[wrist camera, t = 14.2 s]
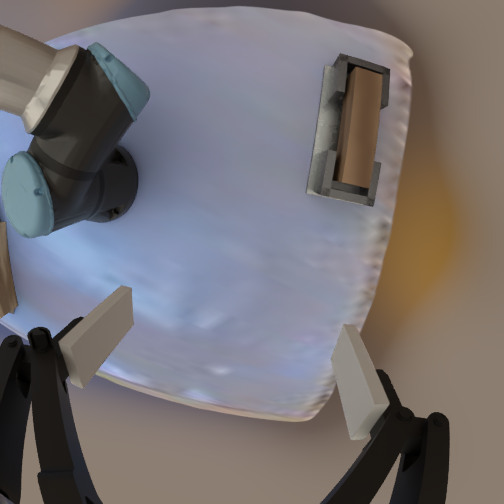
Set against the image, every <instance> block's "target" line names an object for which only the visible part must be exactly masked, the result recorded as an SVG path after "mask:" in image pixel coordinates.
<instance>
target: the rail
mask: <svg viewBox="0 0 504 504" xmlns="http://www.w3.org/2000/svg"><path fill="white" fill-rule="evenodd" d="M381 93H382V75H381V74H378V73H375V72H372V71H369V70H365V69H362V68H359V67H355V69H354V70H353V71H352V72H351V73H350V74H349V76H348V77H347V78H346V84H345V93H344V99H343V108H342V116H341V124H340V132H339V139H338V146H337V154H336V160H335V166H334V172H333V178H332V181H337V182H342V183H346V184H351V185H355V186H360V187H364V188H370V182H371V176H372V170H373V164H374V157H375V150H376V143H377V135H378V126H379V117H380V106H381Z"/></svg>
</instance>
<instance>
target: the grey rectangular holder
mask: <svg viewBox="0 0 504 504" xmlns="http://www.w3.org/2000/svg"><path fill="white" fill-rule="evenodd" d="M355 67H359V68H362V69H365V70H369V71H372V72H375V73H378V74H381V75H382V93H381V106H380V110H381V109H383V108H384V107H386V106H388V99H389V83H390V69H388V68H385V67H383V66H380V65H377V64H374V63H371V62H368V61H365V60H362V59H358V58H355V57H351V56H348V55H344V54H339V56H338V58H337V59H336V61H335V63H334V64H333V66H332V67H331V66H327V65H325V67H324V73H323V82H322V90H321V98H320V105H319V113H318V120H317V127H316V133H315V140H314V147H313V153H312V159H311V166H310V172H309V178H308V183H307V189H306V193H307V194H312V195H317V196H323V197H327V198H332V199H337V200H342V201H346V202H351V203H356V204H360V205H367V206H372V207H373V205H374V200H375V195H376V190H377V184H378V179H379V173H380V167H381V163H379V162H376V161H374V164H373V170H372V176H371V182H370V188H364V187H360V186H355V185H351V184H346V183H342V182H337V181H332V178H333V172H334V166H335V160H336V154H337V146H338V139H339V132H340V124H341V116H342V108H343V99H344V93H345V84H346V78H347V77H348V76H349V74H350V73H351V72H352V71H353V70H354V69H355Z"/></svg>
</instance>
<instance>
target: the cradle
mask: <svg viewBox="0 0 504 504" xmlns="http://www.w3.org/2000/svg"><path fill="white" fill-rule="evenodd" d="M17 306H18V302H17V298H16V293H15V288H14V283H13V278H12V272H11V266H10V259H9V252H8V243H7V233H6V222H3V221H1V222H0V318H2V317H3V316H5V315H6V314H7V313H9V312H10V311H12V310H13V309H14V308H16V307H17Z"/></svg>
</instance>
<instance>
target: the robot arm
mask: <svg viewBox="0 0 504 504" xmlns="http://www.w3.org/2000/svg"><path fill="white" fill-rule="evenodd" d="M149 98H150V91H149V88H148V86H147V85H146V84H145V83H144V82H143V81H142V80H141V79H140V78H139V77H138V76H137V75H136V74H135V73H133V72H132V71H131V70H130V69H129V68H128V67H127V66H126V65H125V64H123V63H122V62H121V61H120V60H119V59H117V58H116V57H115V56H114V55H113V54H111V53H110V52H109V51H108V50H107V49H106V48H105V47H103V46H102V45H101V44H99V43H97V42H95V43H93V44H92V45H90V46H89V47H88V48H87V50H85V49H83V48H82V47H80V46H78V45H72V46H69V47H66V48H63V49H60V50H57V49H55V48H53V47H51V46H49V45H46V44H44V43H42V42H40V41H38V40H36V39H33V38H31V37H29V36H27V35H24V34H22V33H20V32H17V31H15V30H12V29H10V28H7V27H4V26H2V25H0V110H2V111H5V112H8V113H11V114H14V115H17V116H20V117H21V119H22V121H23V125H24V128H25V131H26V132H27V133H28V134H32V135H34V137H33V139H32V142H31V144H30V146H29V148H28V150H27V151H26V152H25V151H20V152H18V153H17V154H15V155H14V156H12V157H11V158H10V159H9V160H8V162H7V164H6V166H5V169H4V172H3V177H2V200H3V205H4V209H5V212H6V215H7V218H8V220H9V222H10V223H11V225H12V227H13V228H14V229H15V230H16V232H18V233H19V234H20V235H21V236H23V237H26V238H36V237H39V236H47V235H49V234H50V233H51V232H54V231H56V230H59V229H61V228H64V227H67V226H69V225H72V224H75V223H77V222H80V221H83V220H88V221H93V222H98V223H104V222H109V221H112V220H115V219H117V218H119V217H121V216H122V215H123V214H125V213H126V212H127V210H128V209H129V208H130V206H131V205H132V203H133V201H134V199H135V196H136V192H137V187H138V174H137V169H136V165H135V163H134V161H133V159H132V157H131V155H130V154H129V153H128V152H127V151H126V150H125V149H124V148H122V147H121V146H119V145H117V144H118V142H119V141H120V140H121V138H122V137H123V135H124V134H125V132H126V131H127V130H128V128H129V127H130V126H131V124H132V123H133V122H135V121H136V120H137V118H136V117H137V116H138V115H139V113H140V112H141V110H142V109H143V108H144V106H145V105H146V104H147V102H148V100H149ZM133 325H134V321H133V306H132V288H130V287H126V286H122V285H121V286H120V287H119V288H118V289H117V290H115V291H114V292H113V293H112V294H111V295H110V296H108V297H107V298H106V299H105V300H104V301H103V302H102V303H100V304H99V305H98V306H97V307H96V308H95V309H94V310H93V311H91V312H90V313H89V314H88V315H87V316H86V317H85V318H84V317H79V318H76V319H74V320H73V321H71V322H70V323H69V324H68V326H66V327H65V328H64V329H62V330H61V331H60V332H59V333H58V334H57V335H56V336H55V337H54V338H53V339H52V337H51V333H50V331H49V330H48V329H47V328H45V327H37V328H34V329H32V330H30V331H29V332H28V335H27V336H28V340H29V343H30V346H29V345H24V344H23V342H22V339H21V337H19V336H17V335H10V336H8V337H6V338H5V339H4V340H3V342H2V344H1V346H0V504H20V497H21V474H22V473H21V472H22V458H23V449H24V439H25V433H26V426H27V420H28V415H29V410H30V404H31V400H32V411H33V412H32V413H33V423H34V432H35V440H36V446H37V452H38V458H39V463H40V468H41V472H39V473H38V475H37V477H38V483H39V487H40V490H41V494H42V498H43V501H44V504H103V503H102V501H101V500H100V498H99V497H98V495H97V493H96V490H95V488H94V485H93V483H92V480H91V477H90V475H89V472H88V469H87V466H86V463H85V460H84V457H83V453H82V450H81V447H80V443H79V440H78V436H77V432H76V428H75V424H74V420H73V415H72V410H71V405H70V400H69V394H68V388H67V383H66V379H67V377H68V376H69V377H70V380H71V382H72V384H74V385H76V386H78V387H80V388H82V389H83V388H84V387H85V386H86V385H87V383H88V382H89V380H90V379H91V378H92V377H93V375H94V374H95V373H96V372H97V370H98V369H99V368H100V366H101V365H102V364H103V362H104V361H105V360H106V359H107V357H108V356H109V355H110V354H111V352H112V351H113V350H114V348H115V347H116V346H117V345H118V343H119V342H120V341H121V340H122V338H123V337H124V336H125V335H126V333H127V332H128V331H129V330H130V329H131V327H132V326H133ZM331 362H332V366H333V370H334V374H335V378H336V381H337V385H338V389H339V393H340V397H341V401H342V406H343V410H344V414H345V418H346V422H347V427H348V431H349V436H350V440H361V439H365V438H366V436H367V435H368V434H369V433H370V435H371V440H370V441H369V442H368V443H367V445H366V446H365V447H364V448H363V451H362V452H361V454H360V455H359V457H358V458H357V459H356V461H355V462H354V463H353V465H352V466H351V468H350V469H349V470H348V471H347V473H346V474H345V475H344V476H343V478H342V479H341V480H340V481H339V483H338V484H337V485H336V486H335V487H334V489H332V491H331V492H330V493H329V494H328V495H327V496H326V498H325V499H324V500H323V501H322V502H321V503H320V504H370V502H371V501H372V499H373V498H374V496H375V494H376V493H377V492H378V490H379V488H380V487H381V485H382V483H383V482H384V480H385V479H386V477H387V475H388V473H389V472H390V470H391V468H392V466H393V464H394V463H395V461H396V459H397V457H398V455H399V453H401V458H400V464H399V468H398V472H397V476H396V481H395V485H394V488H393V492H392V496H391V499H390V503H389V504H445V500H446V493H447V484H448V472H449V448H450V447H449V446H450V442H449V441H450V435H449V434H450V433H449V421H448V419H447V417H446V416H445V415H443V414H442V413H439V412H434V413H432V414H430V415H429V416H428V418H427V419H426V418H420V417H415V416H414V413H413V412H412V411H411V410H410V409H408V408H406V407H403V406H402V405H401V403H400V401H399V398H398V396H397V394H396V392H395V389H393V385H392V384H391V381H390V379H389V376H388V375H387V374H386V373H385V372H384V371H383V370H380V369H375V368H374V366H373V363H372V361H371V359H370V357H369V354H368V352H367V350H366V348H365V346H364V344H363V342H362V339H361V337H360V335H359V333H358V331H357V329H356V327H355V325H346V324H343V327H342V330H341V333H340V336H339V338H338V341H337V344H336V347H335V349H334V352H333V354H332V357H331Z"/></svg>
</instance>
